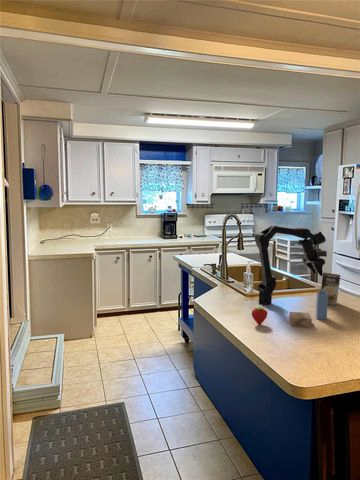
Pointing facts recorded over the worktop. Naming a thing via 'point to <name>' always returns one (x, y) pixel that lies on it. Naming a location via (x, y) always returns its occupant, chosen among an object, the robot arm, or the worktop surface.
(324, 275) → the coffee box
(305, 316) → the walnut base
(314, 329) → the worktop surface
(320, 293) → the blue-grey tall block
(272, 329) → the worktop surface
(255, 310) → the strawberry
